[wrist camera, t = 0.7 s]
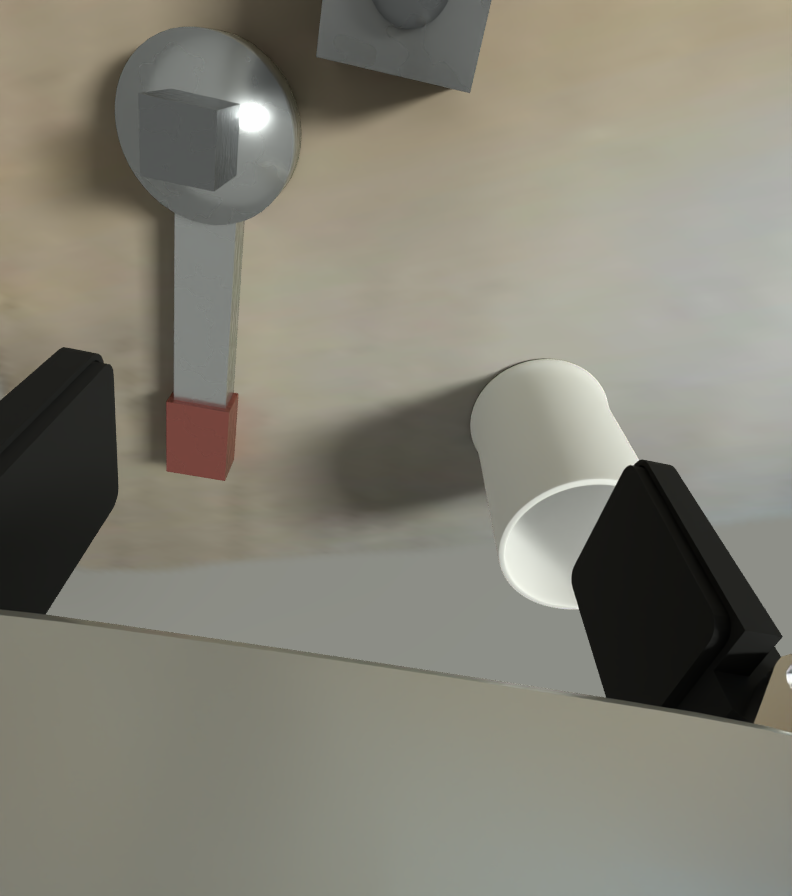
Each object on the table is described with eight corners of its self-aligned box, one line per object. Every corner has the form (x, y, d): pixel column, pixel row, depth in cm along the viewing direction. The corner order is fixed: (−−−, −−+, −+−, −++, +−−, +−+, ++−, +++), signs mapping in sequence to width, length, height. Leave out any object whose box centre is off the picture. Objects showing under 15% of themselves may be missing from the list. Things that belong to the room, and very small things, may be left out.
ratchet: (133, 9, 27) (64, -2, 22) (310, 51, 28) (287, 50, 23) (144, 444, 40) (102, 506, 34) (267, 465, 41) (245, 529, 35)
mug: (677, 417, 38) (775, 546, 28) (592, 511, 42) (651, 654, 32) (519, 333, 35) (564, 444, 25) (445, 443, 39) (459, 577, 29)
